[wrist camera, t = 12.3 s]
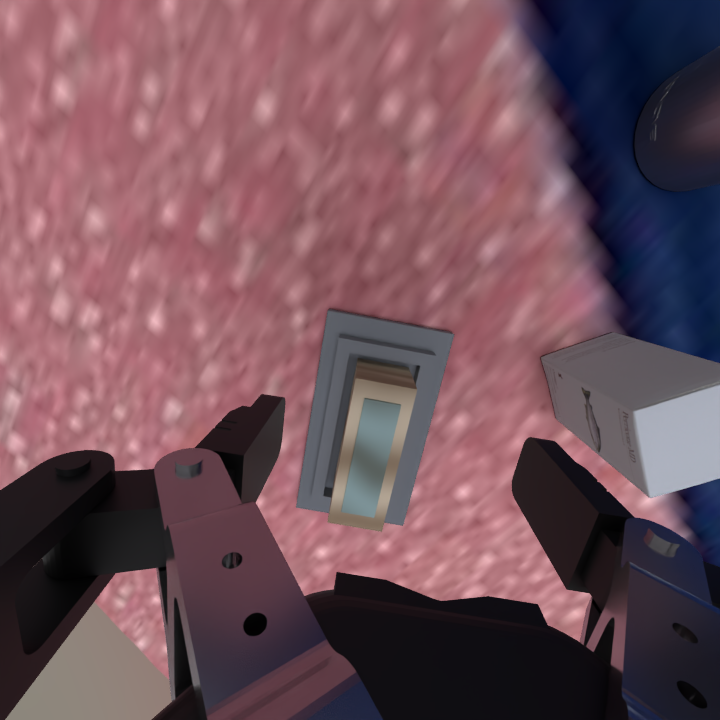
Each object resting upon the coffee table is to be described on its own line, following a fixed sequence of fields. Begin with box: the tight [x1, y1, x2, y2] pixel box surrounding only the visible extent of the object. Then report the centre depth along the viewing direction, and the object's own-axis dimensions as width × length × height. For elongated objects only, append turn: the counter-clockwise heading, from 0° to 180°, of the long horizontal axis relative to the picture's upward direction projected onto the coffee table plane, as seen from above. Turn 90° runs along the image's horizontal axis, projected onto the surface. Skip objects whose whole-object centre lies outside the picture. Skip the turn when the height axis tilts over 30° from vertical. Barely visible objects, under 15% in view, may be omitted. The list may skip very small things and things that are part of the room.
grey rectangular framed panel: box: [296, 309, 454, 526], centre depth 35 cm, size 22×12×3 cm, turn 169°
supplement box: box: [541, 332, 720, 498], centre depth 28 cm, size 7×7×13 cm
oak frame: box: [328, 358, 417, 532], centre depth 32 cm, size 14×5×6 cm, turn 169°
